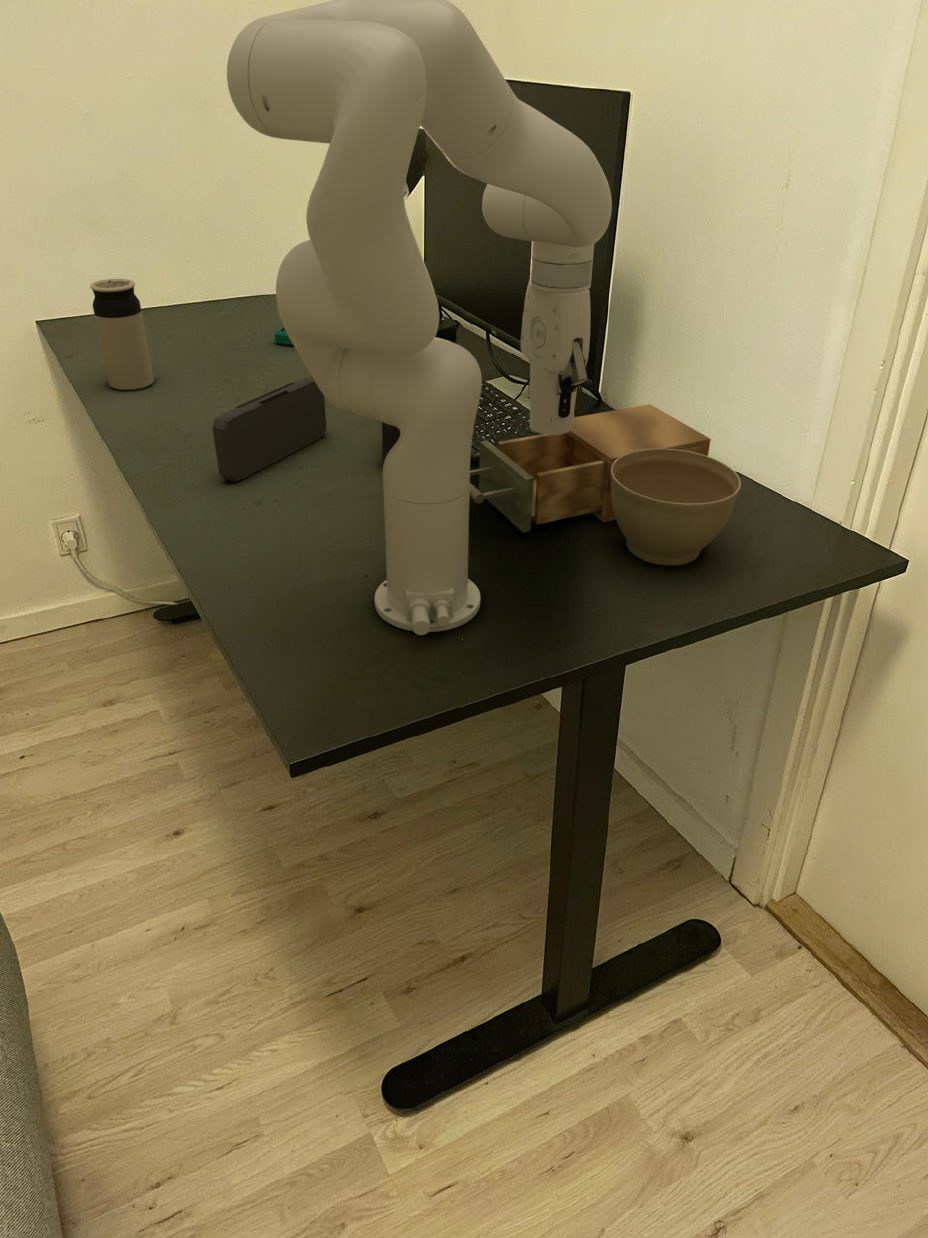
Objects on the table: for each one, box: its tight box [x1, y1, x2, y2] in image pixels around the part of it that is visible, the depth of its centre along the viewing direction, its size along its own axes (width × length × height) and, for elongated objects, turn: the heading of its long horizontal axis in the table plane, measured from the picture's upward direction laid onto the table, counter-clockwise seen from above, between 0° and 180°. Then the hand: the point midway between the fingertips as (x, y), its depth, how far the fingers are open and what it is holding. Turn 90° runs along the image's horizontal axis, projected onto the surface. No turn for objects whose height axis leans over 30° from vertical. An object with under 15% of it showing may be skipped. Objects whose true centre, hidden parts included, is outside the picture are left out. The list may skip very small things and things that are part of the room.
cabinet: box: [567, 403, 712, 523], centre depth 132 cm, size 17×15×10 cm
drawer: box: [469, 433, 607, 533], centre depth 126 cm, size 21×13×8 cm, turn 116°
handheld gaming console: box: [211, 376, 328, 483], centre depth 140 cm, size 23×3×10 cm, turn 149°
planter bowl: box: [611, 449, 742, 566], centre depth 117 cm, size 16×16×11 cm
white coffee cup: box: [529, 353, 578, 435], centre depth 120 cm, size 7×7×10 cm
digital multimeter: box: [274, 325, 294, 346], centre depth 194 cm, size 7×15×3 cm, turn 171°
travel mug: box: [89, 278, 155, 391], centre depth 164 cm, size 8×8×18 cm
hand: (551, 413), depth 122 cm, fingers closed on white coffee cup, 3 cm apart
